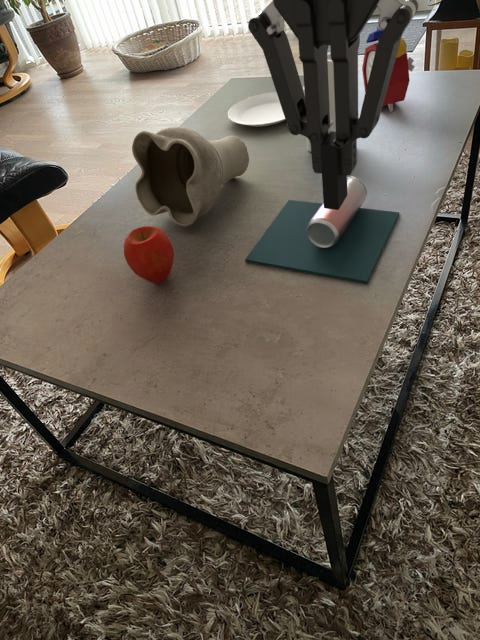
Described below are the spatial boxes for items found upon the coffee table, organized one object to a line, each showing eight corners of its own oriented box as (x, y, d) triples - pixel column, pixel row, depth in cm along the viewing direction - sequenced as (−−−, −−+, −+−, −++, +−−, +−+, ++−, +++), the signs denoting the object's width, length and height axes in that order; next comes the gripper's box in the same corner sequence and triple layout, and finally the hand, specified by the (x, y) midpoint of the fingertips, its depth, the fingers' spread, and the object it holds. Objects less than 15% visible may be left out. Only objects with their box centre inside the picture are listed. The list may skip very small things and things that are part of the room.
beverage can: (302, 218, 82) (336, 174, 91) (307, 247, 86) (339, 202, 95) (335, 222, 79) (367, 176, 88) (338, 252, 83) (368, 205, 92)
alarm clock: (361, 98, 129) (361, 12, 115) (392, 90, 129) (396, 3, 115) (383, 118, 118) (386, 26, 104) (417, 110, 118) (425, 16, 104)
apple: (127, 286, 88) (105, 237, 80) (161, 260, 92) (144, 211, 84) (157, 303, 83) (137, 252, 76) (192, 275, 87) (176, 224, 79)
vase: (204, 101, 111) (109, 122, 92) (284, 89, 98) (191, 112, 79) (221, 195, 121) (138, 232, 102) (295, 196, 108) (215, 239, 89)
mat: (399, 214, 89) (399, 212, 89) (367, 284, 78) (367, 281, 77) (289, 202, 99) (288, 199, 98) (245, 262, 87) (244, 259, 87)
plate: (296, 93, 139) (295, 85, 137) (314, 121, 123) (313, 113, 122) (225, 110, 139) (223, 102, 138) (234, 140, 124) (232, 131, 122)
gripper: (210, -88, 32) (260, 214, 49) (412, -123, 27) (392, 232, 43) (258, -107, 37) (289, 177, 53) (440, -141, 31) (412, 188, 47)
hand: (335, 201), depth 48 cm, fingers closed
